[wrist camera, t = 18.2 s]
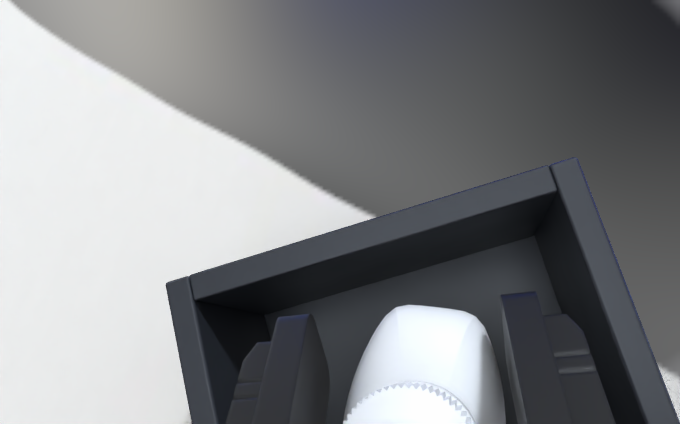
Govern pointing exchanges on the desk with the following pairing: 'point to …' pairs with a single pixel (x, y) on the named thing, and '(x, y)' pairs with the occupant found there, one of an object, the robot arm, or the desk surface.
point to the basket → (427, 290)
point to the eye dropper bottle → (427, 371)
